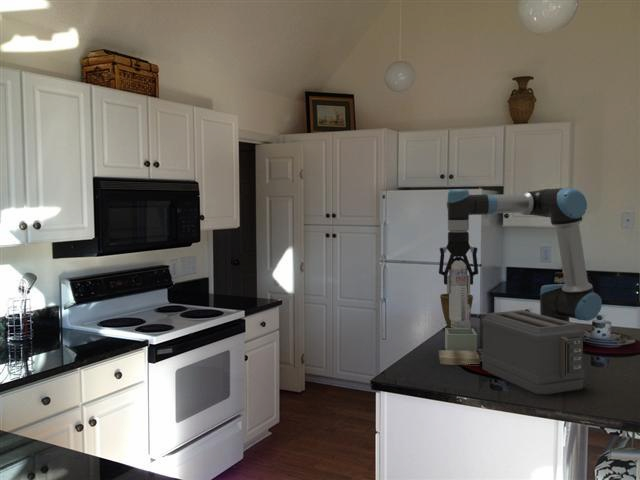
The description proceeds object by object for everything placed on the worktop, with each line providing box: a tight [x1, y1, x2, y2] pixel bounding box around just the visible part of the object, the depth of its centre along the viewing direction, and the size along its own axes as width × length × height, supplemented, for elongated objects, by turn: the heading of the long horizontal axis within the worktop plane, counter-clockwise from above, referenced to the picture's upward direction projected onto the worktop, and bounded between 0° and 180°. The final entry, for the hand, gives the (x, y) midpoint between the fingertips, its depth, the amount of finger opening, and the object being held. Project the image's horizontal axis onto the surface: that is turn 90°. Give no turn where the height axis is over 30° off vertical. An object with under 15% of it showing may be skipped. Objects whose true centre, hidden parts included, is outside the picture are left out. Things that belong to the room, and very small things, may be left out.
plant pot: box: [439, 292, 474, 328], centre depth 271 cm, size 15×15×16 cm
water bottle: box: [448, 256, 469, 321], centre depth 217 cm, size 7×7×25 cm
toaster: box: [480, 309, 586, 395], centre depth 196 cm, size 19×34×20 cm, turn 19°
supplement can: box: [451, 305, 472, 329], centre depth 252 cm, size 8×8×15 cm
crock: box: [444, 327, 478, 352], centre depth 233 cm, size 11×11×8 cm
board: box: [438, 349, 481, 366], centre depth 219 cm, size 14×11×2 cm
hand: (458, 293), depth 218 cm, fingers closed on water bottle, 7 cm apart
